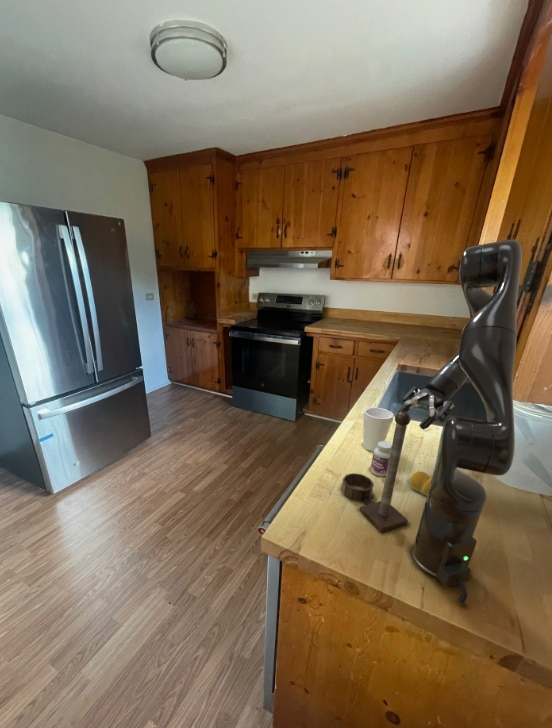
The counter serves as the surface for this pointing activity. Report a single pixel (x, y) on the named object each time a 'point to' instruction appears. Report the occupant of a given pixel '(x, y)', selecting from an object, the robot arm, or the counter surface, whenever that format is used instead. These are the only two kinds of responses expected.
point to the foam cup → (375, 426)
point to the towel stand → (382, 511)
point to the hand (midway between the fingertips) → (409, 421)
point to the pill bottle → (381, 458)
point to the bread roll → (420, 482)
